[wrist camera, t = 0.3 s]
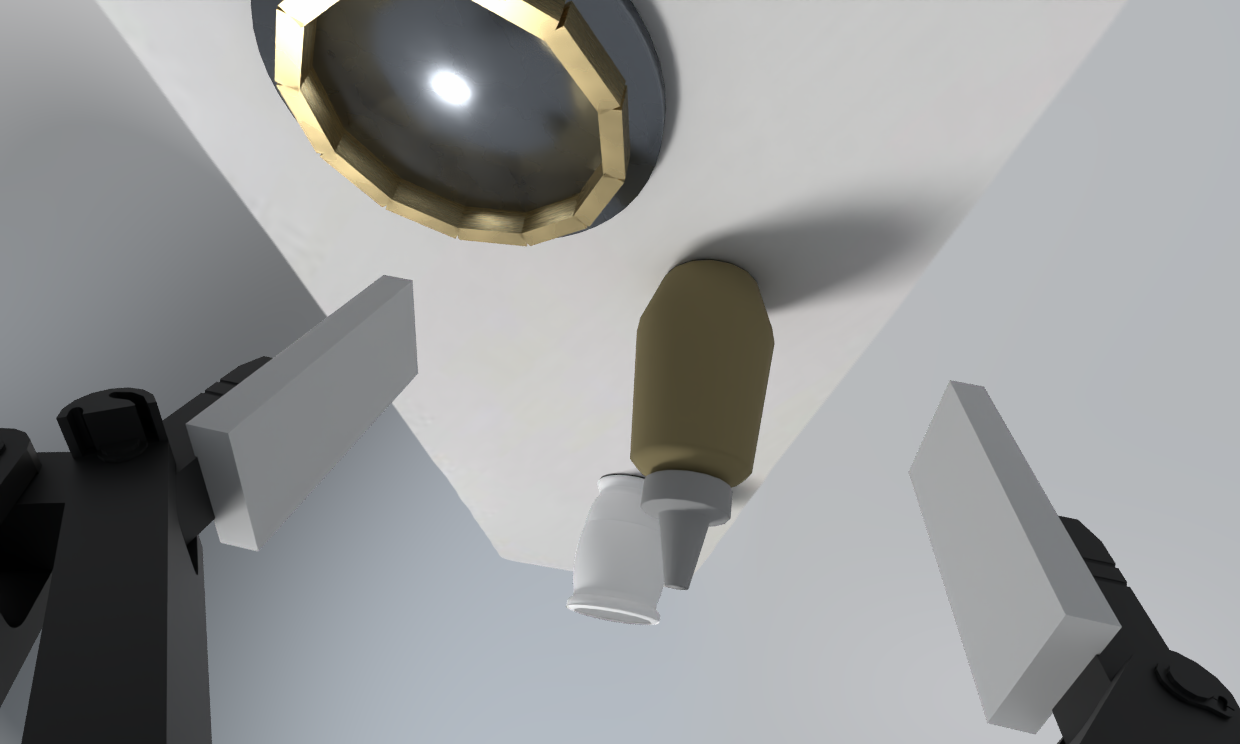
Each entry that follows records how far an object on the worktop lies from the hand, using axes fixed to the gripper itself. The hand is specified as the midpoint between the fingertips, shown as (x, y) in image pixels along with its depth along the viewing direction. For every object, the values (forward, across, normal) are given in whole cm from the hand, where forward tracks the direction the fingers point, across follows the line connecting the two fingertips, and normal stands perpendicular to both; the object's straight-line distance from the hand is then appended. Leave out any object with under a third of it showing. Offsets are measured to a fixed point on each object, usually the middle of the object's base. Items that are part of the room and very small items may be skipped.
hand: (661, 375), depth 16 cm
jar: (+46, -3, -43) cm, 63 cm away
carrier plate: (+16, -12, +3) cm, 20 cm away
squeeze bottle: (+24, +1, -7) cm, 25 cm away
